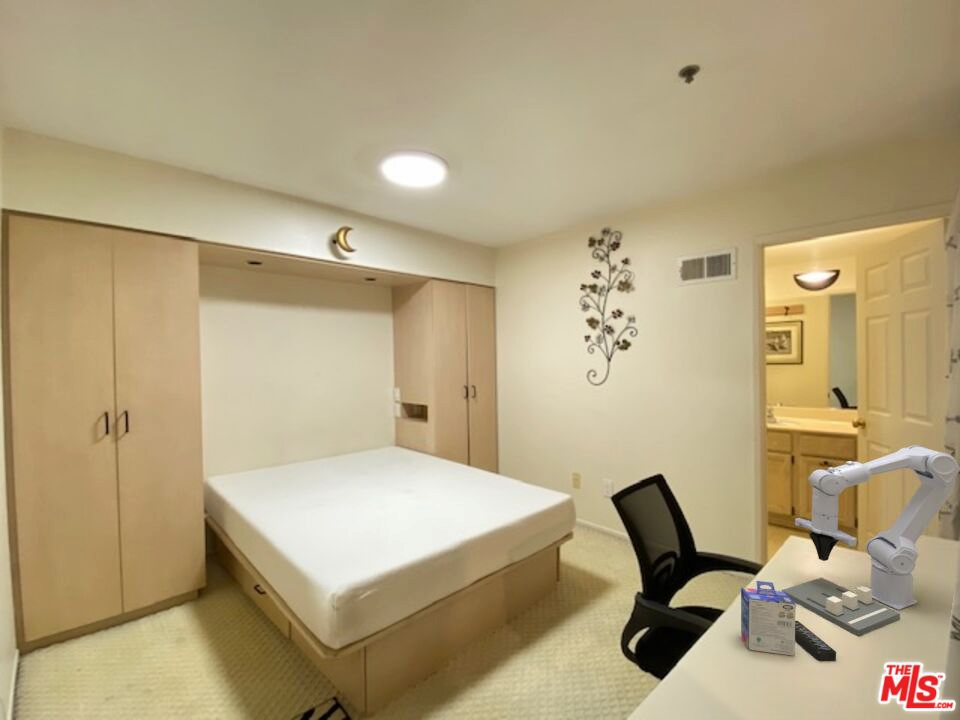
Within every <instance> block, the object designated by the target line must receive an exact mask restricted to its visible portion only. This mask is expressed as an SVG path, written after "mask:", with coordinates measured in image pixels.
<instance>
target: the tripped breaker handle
mask: <svg viewBox="0 0 960 720" xmlns="http://www.w3.org/2000/svg"><path fill="white" fill-rule="evenodd" d="M850 591H851V590H850ZM850 591H848V592H845V593H842V605H843V606H845V607H847V608H849V609H851V610H856V609H859V608H860V607H858V595H856V594H854V593H852V592H853V591H852V592H850Z"/></svg>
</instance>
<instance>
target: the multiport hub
mask: <svg viewBox="0 0 960 720" xmlns="http://www.w3.org/2000/svg"><path fill="white" fill-rule="evenodd" d="M795 643H796V644H797V645H799V646H800V647H801V648H802V647H803V648H802V649H804V650H805V652H807V653H808V654H810V656H811V657H813V658H814V659H815V660H816V661H817V662H837V651H836V650H835V649H834V648H832V647H831V646H830V645H829V644H827V643H826V642H825V641H824V640H823V639H821V638H820V637H819V636H817V635H816V634H815V633H814V632H813V631H812V630H810V629H809V628H808V627H806V626H805V625H804V624H803V623H801V622H800V621H799V620H795Z"/></svg>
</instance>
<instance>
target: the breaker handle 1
mask: <svg viewBox="0 0 960 720" xmlns="http://www.w3.org/2000/svg"><path fill="white" fill-rule="evenodd" d="M824 610H826V611H828V612H830V613H832V614H834V615H836V616H839V615H842V614H844V612H842V600H841V599H839V598H837V597H835V596H832V597H829V598H826V608H824Z"/></svg>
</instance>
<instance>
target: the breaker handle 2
mask: <svg viewBox="0 0 960 720" xmlns="http://www.w3.org/2000/svg"><path fill="white" fill-rule="evenodd" d="M855 593H856V595H858V601H860V602H862V603H864V604H866V605H868V604H871V603H874V602H875V601H874V602H873V600H872V599H873V598H872V590H871V588H869V587H867V586H864V585H861V586H858V587H856V590H855Z"/></svg>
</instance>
